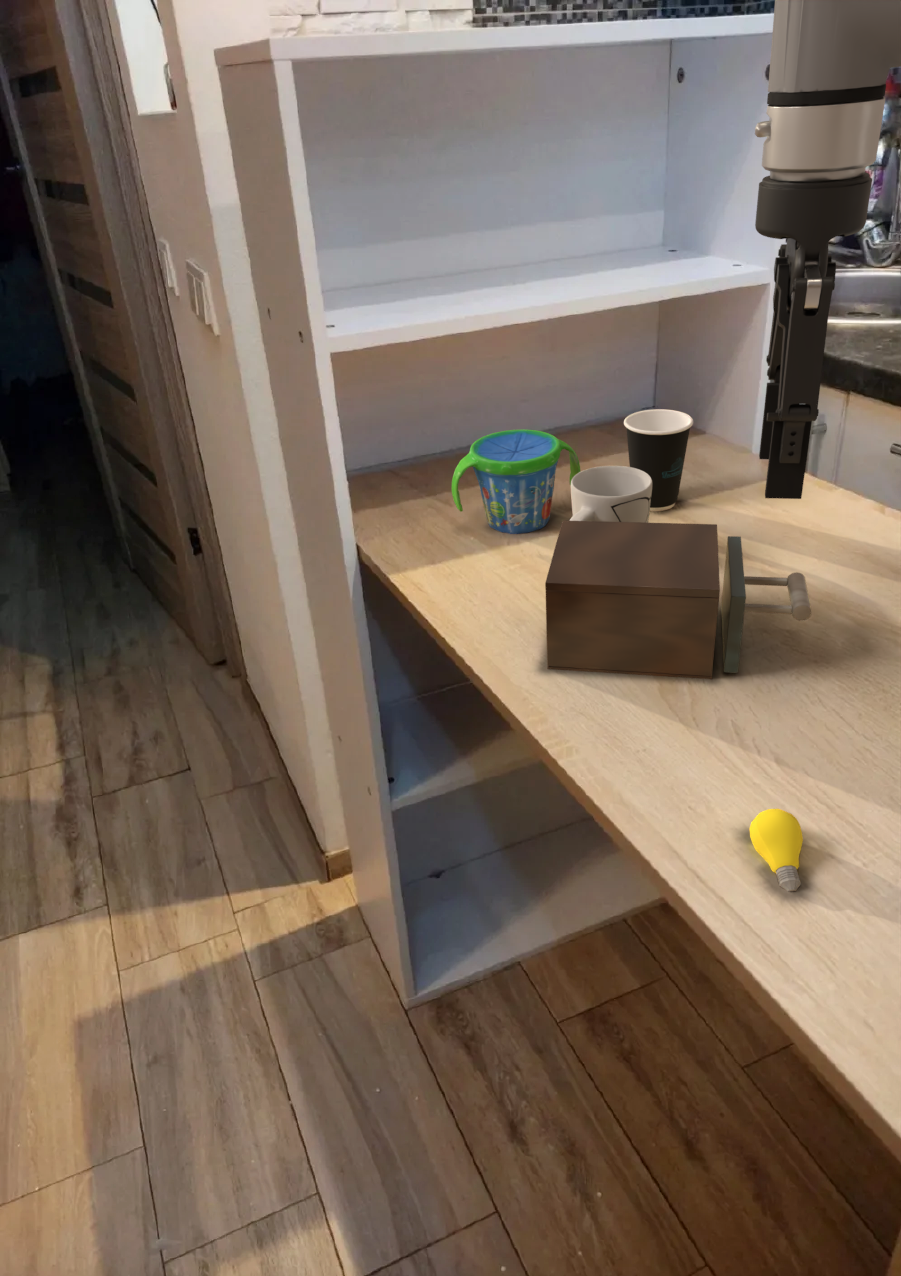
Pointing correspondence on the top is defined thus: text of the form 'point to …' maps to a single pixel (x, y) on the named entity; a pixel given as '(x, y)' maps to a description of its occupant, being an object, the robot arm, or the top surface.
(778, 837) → the light bulb
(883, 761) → the top surface
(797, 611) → the drawer
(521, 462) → the snack cup
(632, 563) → the cabinet
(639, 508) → the mug
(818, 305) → the robot arm
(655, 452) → the dixie cup
